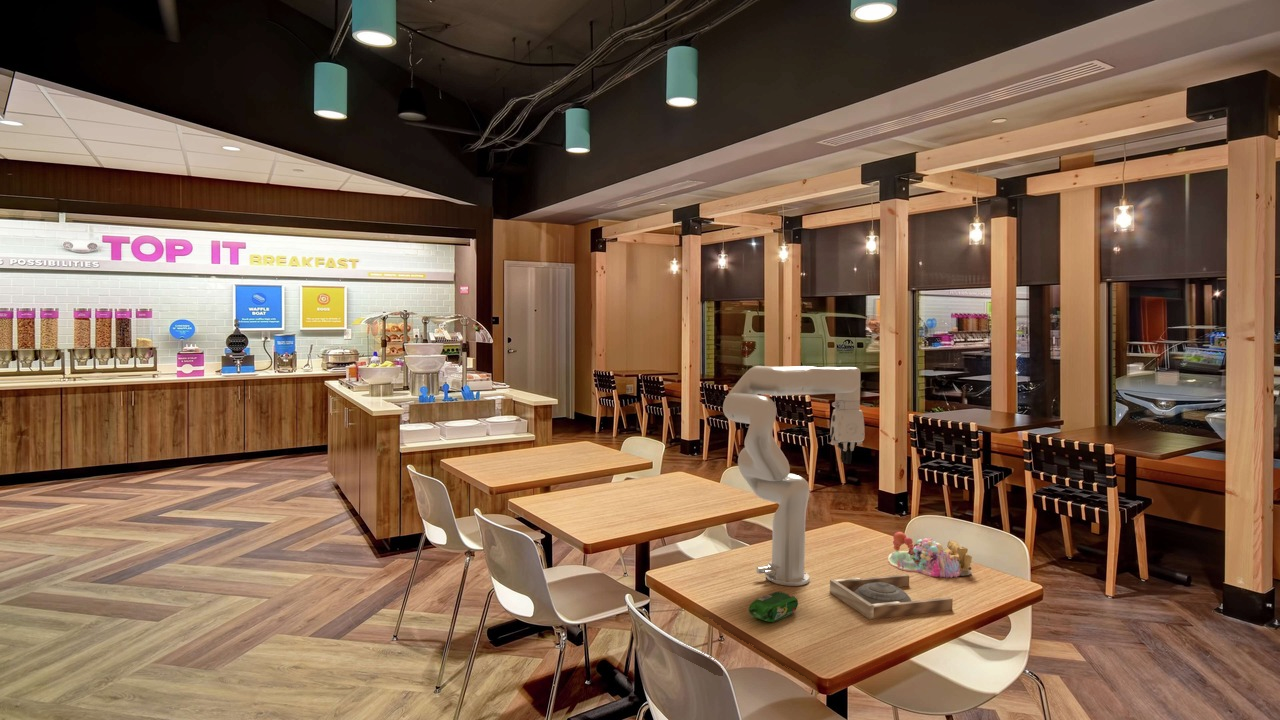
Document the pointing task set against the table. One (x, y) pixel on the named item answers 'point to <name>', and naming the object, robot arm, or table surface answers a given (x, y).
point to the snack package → (773, 606)
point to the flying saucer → (881, 593)
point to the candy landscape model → (930, 557)
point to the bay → (888, 609)
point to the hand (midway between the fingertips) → (846, 462)
